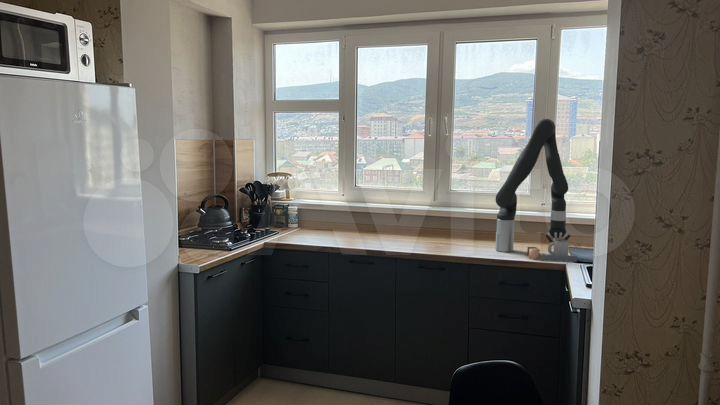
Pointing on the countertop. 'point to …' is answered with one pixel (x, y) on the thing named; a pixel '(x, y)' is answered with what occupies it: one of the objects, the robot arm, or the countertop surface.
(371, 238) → the countertop surface
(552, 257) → the stand
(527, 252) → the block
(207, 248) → the countertop surface
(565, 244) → the cup
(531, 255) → the tan rounded lump
